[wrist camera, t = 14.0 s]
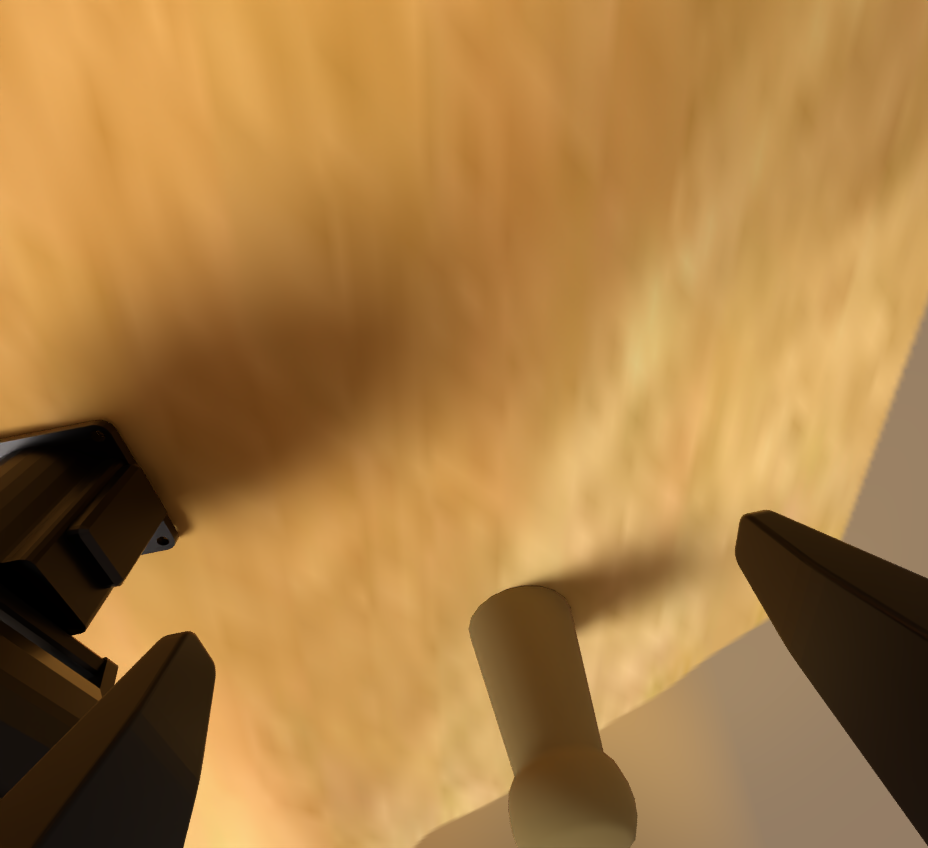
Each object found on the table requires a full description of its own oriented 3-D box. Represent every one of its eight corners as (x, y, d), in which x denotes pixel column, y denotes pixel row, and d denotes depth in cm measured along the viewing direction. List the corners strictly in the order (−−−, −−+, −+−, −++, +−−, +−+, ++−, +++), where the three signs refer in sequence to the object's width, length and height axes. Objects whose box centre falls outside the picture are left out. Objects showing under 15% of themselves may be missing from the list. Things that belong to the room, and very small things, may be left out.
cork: (537, 568, 26) (620, 805, 17) (589, 624, 29) (685, 853, 19) (447, 623, 27) (477, 873, 18) (505, 671, 30) (558, 910, 21)
